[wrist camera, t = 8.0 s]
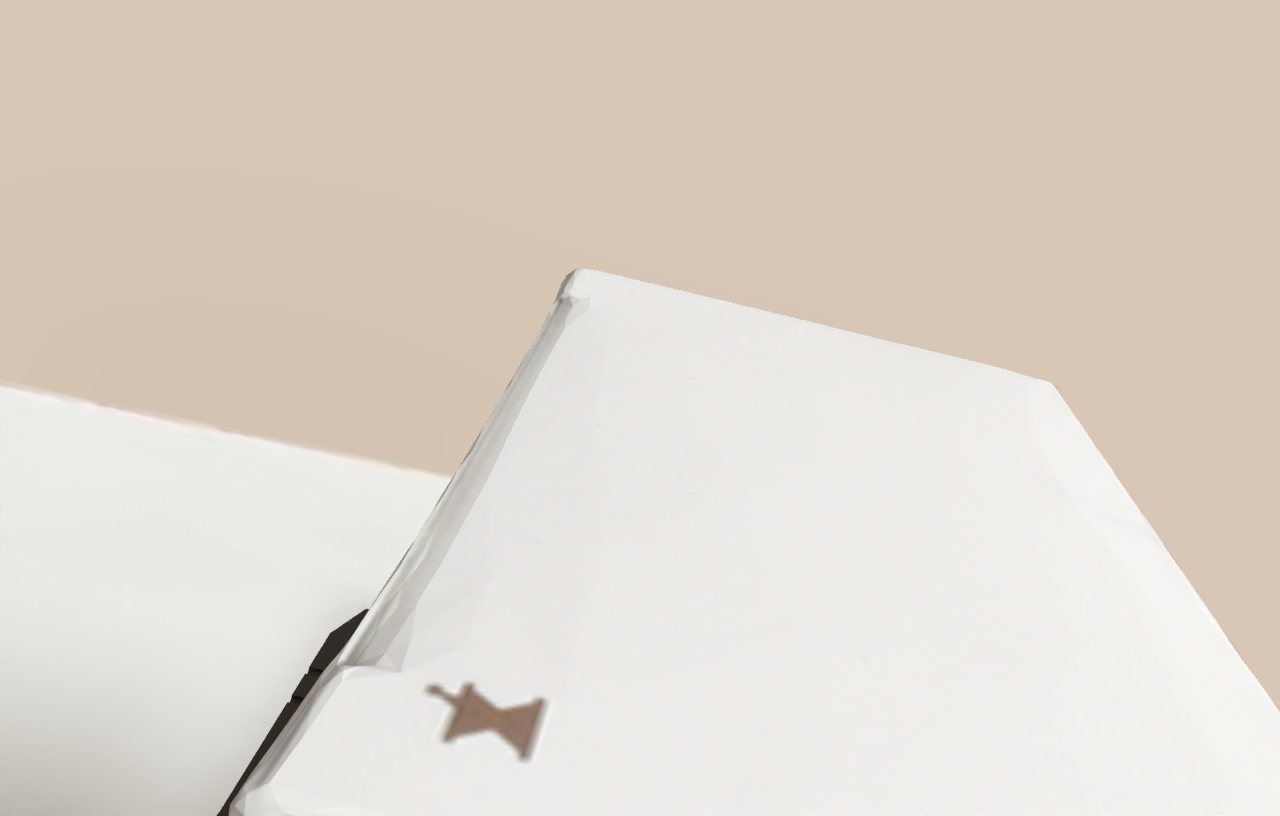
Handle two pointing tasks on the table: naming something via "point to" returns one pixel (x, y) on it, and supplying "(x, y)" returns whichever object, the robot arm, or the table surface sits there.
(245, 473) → the table surface
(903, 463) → the small box
